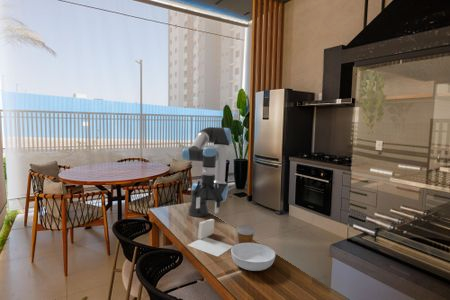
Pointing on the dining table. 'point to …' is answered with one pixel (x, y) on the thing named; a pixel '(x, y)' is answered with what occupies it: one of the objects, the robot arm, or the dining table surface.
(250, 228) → the disposable coffee cup
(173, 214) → the dining table surface
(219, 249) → the mat
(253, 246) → the serving bowl
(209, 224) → the tile
